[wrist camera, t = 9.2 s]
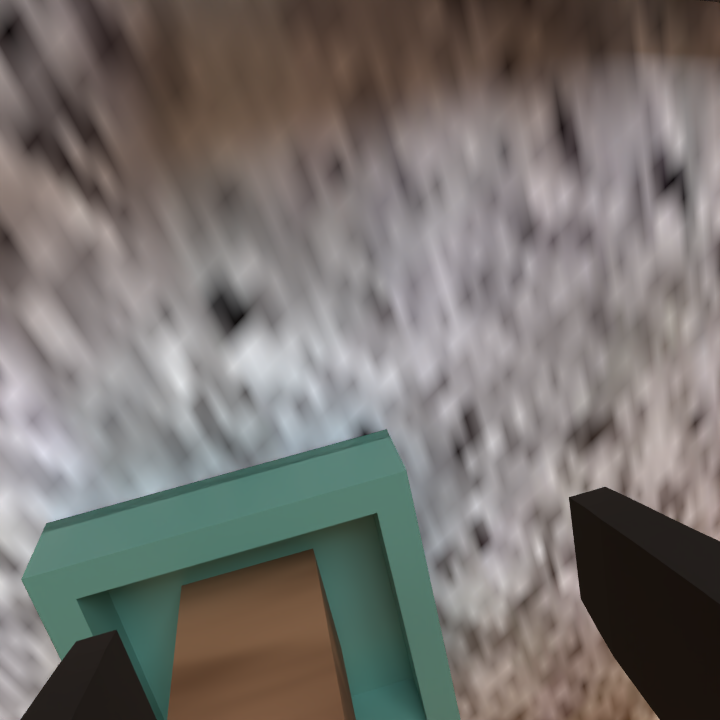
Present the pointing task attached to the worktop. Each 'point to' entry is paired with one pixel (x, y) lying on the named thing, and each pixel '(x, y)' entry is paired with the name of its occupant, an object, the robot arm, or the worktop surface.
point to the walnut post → (259, 647)
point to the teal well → (254, 546)
